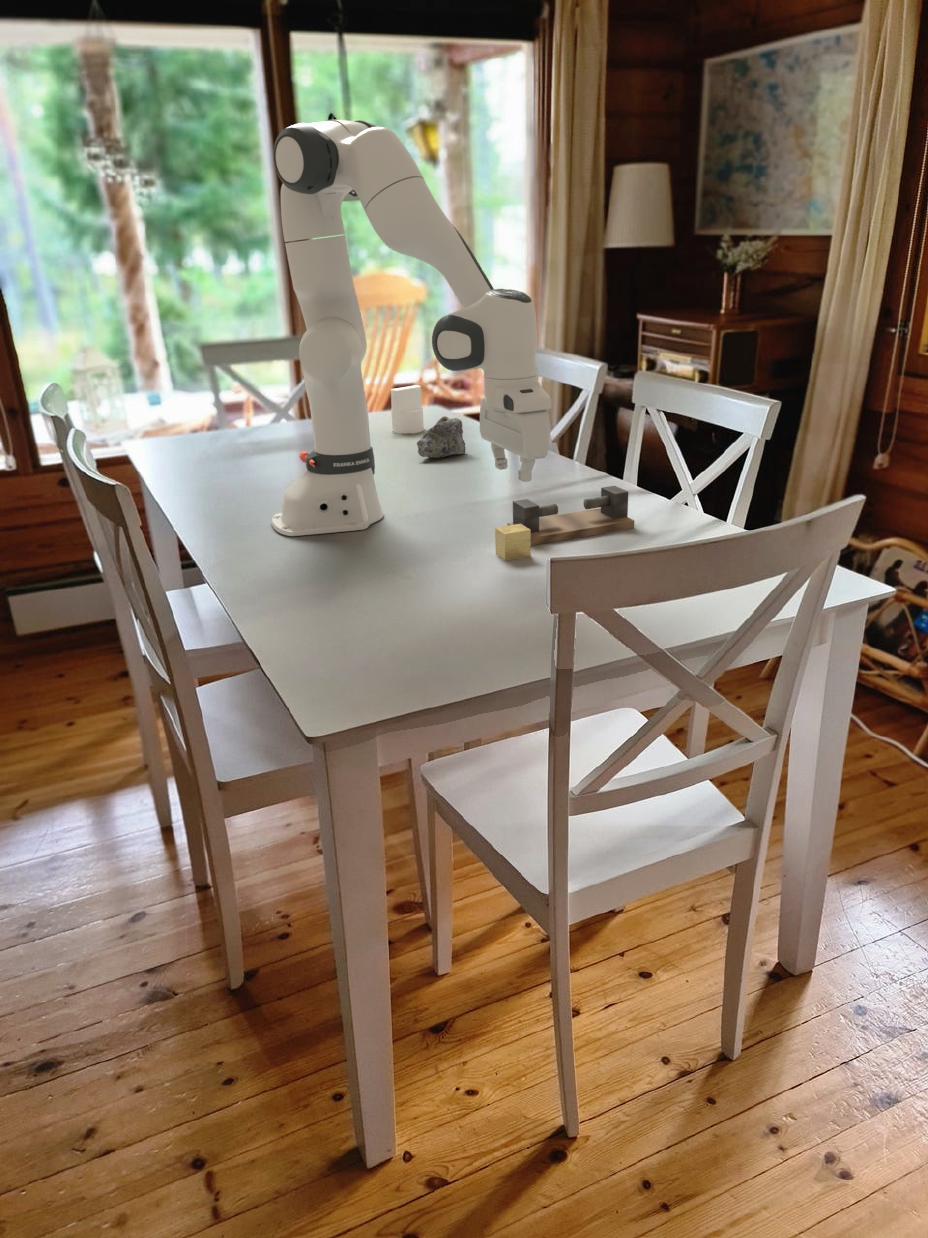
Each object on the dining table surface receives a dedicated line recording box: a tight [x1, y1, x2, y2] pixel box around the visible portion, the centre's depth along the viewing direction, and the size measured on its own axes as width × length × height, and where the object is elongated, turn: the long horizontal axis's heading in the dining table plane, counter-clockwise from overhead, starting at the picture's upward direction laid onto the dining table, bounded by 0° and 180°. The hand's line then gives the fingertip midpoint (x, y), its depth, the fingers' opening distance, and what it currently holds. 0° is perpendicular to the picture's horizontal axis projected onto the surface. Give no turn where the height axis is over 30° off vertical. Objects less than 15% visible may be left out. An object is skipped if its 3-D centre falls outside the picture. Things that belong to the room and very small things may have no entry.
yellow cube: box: [494, 524, 532, 562], centre depth 164 cm, size 5×4×5 cm
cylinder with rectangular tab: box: [390, 384, 425, 434], centre depth 262 cm, size 9×9×12 cm
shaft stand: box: [506, 485, 635, 547], centre depth 176 cm, size 22×10×6 cm, turn 113°
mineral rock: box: [416, 415, 466, 459], centre depth 233 cm, size 13×11×10 cm
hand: (512, 474), depth 159 cm, fingers open, 8 cm apart
